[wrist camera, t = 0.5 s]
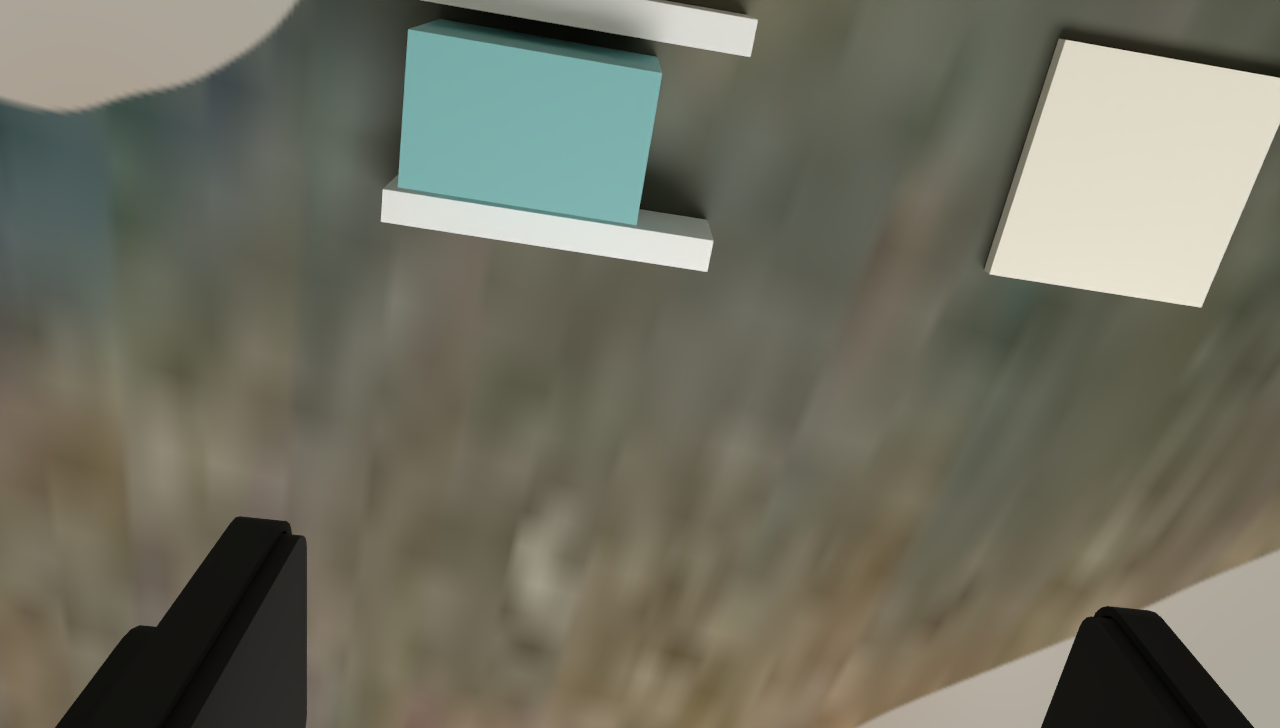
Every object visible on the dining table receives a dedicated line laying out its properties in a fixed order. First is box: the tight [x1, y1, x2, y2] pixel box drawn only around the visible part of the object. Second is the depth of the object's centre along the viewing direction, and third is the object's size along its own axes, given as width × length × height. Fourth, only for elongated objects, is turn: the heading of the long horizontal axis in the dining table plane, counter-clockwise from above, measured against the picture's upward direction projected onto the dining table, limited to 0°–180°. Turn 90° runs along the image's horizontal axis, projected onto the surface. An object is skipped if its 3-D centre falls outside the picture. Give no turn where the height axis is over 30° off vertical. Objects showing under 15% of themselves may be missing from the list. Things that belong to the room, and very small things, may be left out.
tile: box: [984, 39, 1280, 307], centre depth 36 cm, size 9×9×1 cm
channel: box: [381, 0, 758, 272], centre depth 34 cm, size 9×12×3 cm
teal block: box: [398, 19, 662, 225], centre depth 33 cm, size 5×8×6 cm, turn 81°
